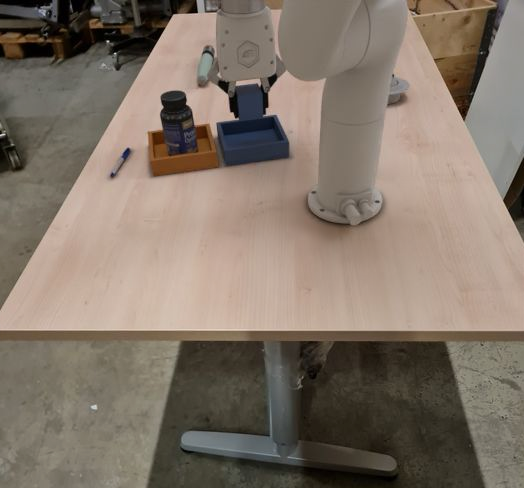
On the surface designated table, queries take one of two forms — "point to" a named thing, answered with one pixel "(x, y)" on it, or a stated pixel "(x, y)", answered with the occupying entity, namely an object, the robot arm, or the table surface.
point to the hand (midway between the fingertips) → (249, 112)
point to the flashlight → (205, 64)
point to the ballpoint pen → (120, 161)
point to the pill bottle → (178, 124)
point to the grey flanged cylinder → (396, 89)
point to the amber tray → (184, 162)
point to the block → (249, 102)
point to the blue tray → (252, 140)
